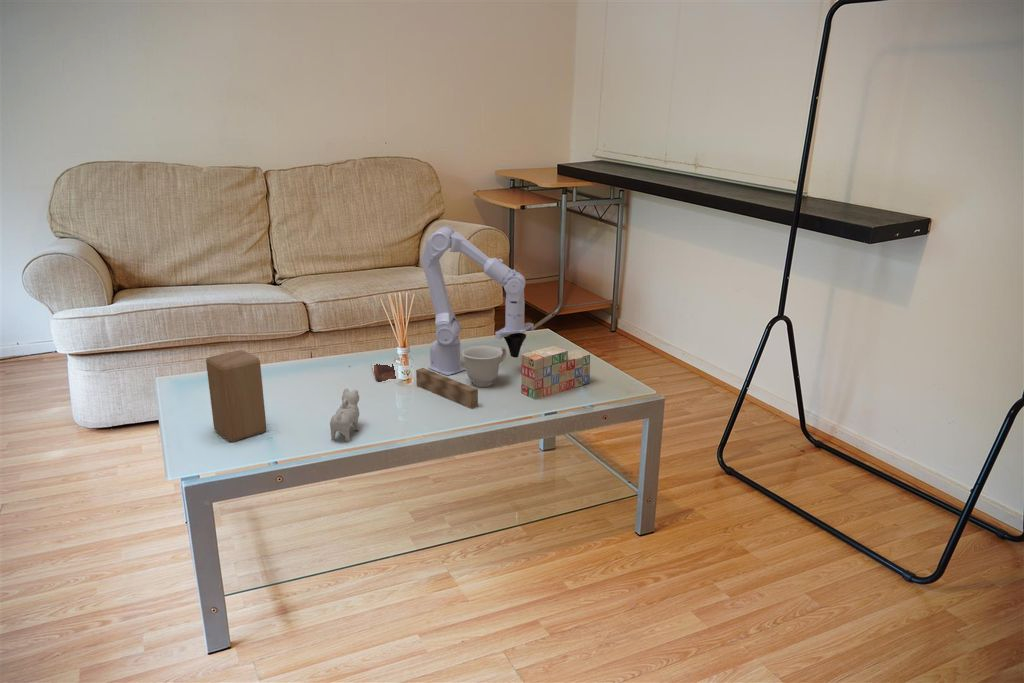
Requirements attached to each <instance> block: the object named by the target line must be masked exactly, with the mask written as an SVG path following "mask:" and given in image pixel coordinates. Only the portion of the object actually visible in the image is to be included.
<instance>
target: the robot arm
mask: <svg viewBox="0 0 1024 683" xmlns="http://www.w3.org/2000/svg"><path fill="white" fill-rule="evenodd" d="M449 249H450V250H449ZM447 250H449V252H450V253H461V254H463V255H465V256H467V257H468V258H469V259H471V261H473V262H475V263H476V264H478V265H479V266H481V267H482V269H483V273H484V274H485V275H486V276H488V277H489V278H490V279H491V280H493V281H494V282H495V283H497V284H498V285H499V286H502V287H503V288H504V291H505V294H506V295H505V317H504V318H505V325H504V327H503V328H501V329H499V330H497V331H494V333H495V334H494V335H495V336H494V337H495V339H497V340H502V339H504V340H505V342H506V344H507V347H508V351H509V355H510V357H512V358H519V356H520V352H521V349H522V346H523V344H524V342H525V340H526V338H527V334H526V332H527V331H534V328H535V327H534V323H532V322H525V304H526V301H525V287H526V278H525V277H524V275H523V274H522V273H521V272H517V270H516V269H514V268H513V269H512V268H510V267H509V266H507V265H506V264H505V263H503V262H504V260H503V259H502V258H499V259H498V258H497V257H489V256H488V255H486V254H485V253H484V252H483V251H481V249H479V248H477V246H475V245H474V244H473V243H472V242H471V241H470V240H468V239H467V238H465V237H464V235H463V234H461V233H459V232H458V231H455V230H454V229H453V228H452V227H451V226H447V225H443V226H441V227H439V228H437V229H436V231H434V232H433V233H432V234H431V235H429V237H428V238H427V240H426V242H425V247H424V250H423V252H422V255H421V263H422V268H423V271H424V276H425V279H426V281H427V282H426V283H427V286H428V290H429V294H430V299H431V301H432V306H433V310H434V314H435V319H434V320H435V334H434V335H435V340H434V341H433V342H432V343H431V345H430V348H429V356H430V357H429V358H430V365H429V366H428V370H429V369H430V370H431V371H433V372H434V371H435V372H436V373H437V372H438V374H441V375H445V376H450V375H454V374H456V373H460V372H464V371H466V366H462V365H461V340H460V338H459V335H460V333H461V331H462V326H461V323H460V322H459V320H458V319H457V318H456V315H455V314H456V313H455V312H454V311H453V310H452V306H451V302H450V299H449V295H448V290H447V287H446V283H445V279H444V274H443V270H442V267H441V263H440V261H441V258H442V256H443V255H444V253H445V252H447Z"/></svg>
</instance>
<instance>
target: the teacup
mask: <svg viewBox="0 0 1024 683" xmlns="http://www.w3.org/2000/svg"><path fill="white" fill-rule="evenodd" d="M461 355H462V356H463V357H464V362H465V368H466V370H465V371H466V374H467V377H468V378H469V380H471V381H472V384H473V386H476V387H479V388H485V387H486V386H487V387H490V386H492V384H493V381H494V380H495V379H496V378H497V377H498V375H499V374H498V373H499V369H500V364H501V363H502V362H503V361H504V360H505V359H506V357H507V350H506V348H505V347H504V346H499V347H496V346H492V345H473V346H469V347H468V346H467V347H466V348H464V349H463V350H462V351H461Z"/></svg>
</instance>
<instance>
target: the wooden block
mask: <svg viewBox="0 0 1024 683" xmlns="http://www.w3.org/2000/svg"><path fill="white" fill-rule="evenodd" d="M205 364H206V371H207V372H206V373H207V381H208V389H209V395H210V404H211V406H210V407H211V415H212V420H213V421H212V423H213V429H214V432H216V433H217V434H218V435H220V436H222V437H223V438H224V439H226V440H227V441H229V442H236V441H239V440H243V439H246V438H250V437H252V436H256V435H259V434H261V433H265V432H266V431H267V420H266V409H265V408H266V407H265V398H264V388H263V387H264V386H263V376H262V368H261V360H260V358H259V357H257V356H256V355H253V354H252V353H249V352H247V351H245V350H243V349H239V350H235V351H231V352H226V353H221V354H217V355H212V356H209V357H206V359H205Z"/></svg>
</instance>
